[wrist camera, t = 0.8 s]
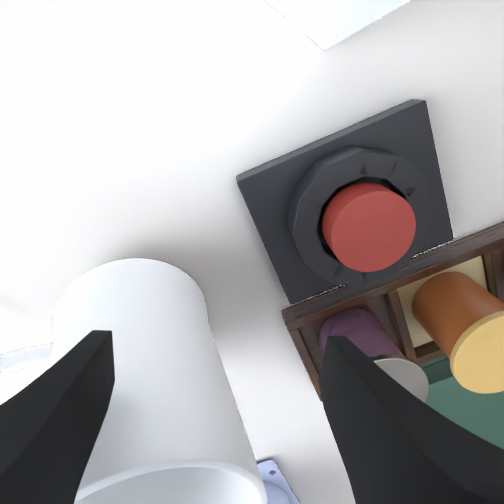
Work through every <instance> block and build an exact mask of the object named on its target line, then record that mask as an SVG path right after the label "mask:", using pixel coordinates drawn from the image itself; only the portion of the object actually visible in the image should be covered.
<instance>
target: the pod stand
mask: <svg viewBox="0 0 504 504" xmlns="http://www.w3.org/2000/svg"><path fill="white" fill-rule="evenodd" d="M445 272H460V273H463V274H465V275H467V276H469V277H470V278H471V279H473V280H474V281H475V282H477V283H478V284H479V285H481V286H482V287H483V288H485V289H486V290H487V291H488V292H490V293H491V294H492V295H494V296H495V297H496V298H498V299H499V300H500V301H502V302H503V303H504V222H503V223H501V224H498V225H496V226H493V227H491V228H488V229H486V230H483V231H481V232H478V233H476V234H473V235H471V236H468V237H466V238H463V239H461V240H458V241H456V242H453V243H451V244H448V245H446V246H443V247H441V248H438V249H436V250H433V251H431V252H428V253H426V254H423V255H421V256H418V257H416V258H413V259H411V260H409V261H408V262H407V263H406V264H405V265H404V266H403V267H402V268H401V269H400V270H399V272H397V273H396V274H393V275H391V276H388V277H386V278H383V279H381V280H378V281H376V282H373V283H371V284H368V285H366V286H356V285H346V286H343V287H341V288H338V289H336V290H333V291H331V292H328V293H326V294H323V295H321V296H318V297H316V298H313V299H311V300H308V301H306V302H303V303H301V304H298V305H296V306H293V307H291V308H288V309H286V310H283V311H282V314H283V318H284V321H285V325H286V327H287V329H288V331H289V333H290V335H291V338H292V340H293V342H294V344H295V346H296V349H297V351H298V353H299V355H300V357H301V359H302V362H303V364H304V366H305V368H306V370H307V372H308V375H309V377H310V379H311V381H312V383H313V386H314V388H315V390H316V392H317V394H318V396H319V399H320V401H322V397H321V392H320V388H319V383H318V381H319V376H320V371H321V366H322V361H323V354H322V351H321V349H320V346H319V333H320V330H321V328H322V326H323V324H324V323H325V322H326V321H327V320H328V319H329V318H330V317H331V316H332V315H334V314H336V313H337V312H340V311H342V310H345V309H351V308H359V309H364V310H367V311H369V312H371V313H373V314H374V315H375V316H376V317H377V318H378V320H379V321H380V322H381V324H382V325H383V327H384V328H385V330H386V331H387V333H388V334H389V335H390V337H391V338H392V340H393V341H394V343H395V344H396V346H397V347H398V348H399V350H400V351H401V353H402V354H403V356H405V357H408V358H410V359H412V360H414V361H415V362H416V363H418V365H420V364H422V363H425V362H428V361H430V360H433V359H436V358H438V357H441V356H444V355H445V354H444V352H443V351H442V350H441V349H440V348H439V346H438V345H437V344H436V343H435V342H434V341H433V339H432V338H431V337H430V336H429V335H428V334H427V332H426V331H425V330H424V329H423V328H422V326H421V325H420V324H419V323H418V322H417V321H416V319H415V317H414V315H413V311H412V303H413V299H414V297H415V294H416V293H417V291H418V290H419V288H420V287H421V286H422V285H423V284H424V283H425V282H426V281H428V280H429V279H430V278H432V277H434V276H436V275H438V274H441V273H445Z"/></svg>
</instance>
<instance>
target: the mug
mask: <svg viewBox="0 0 504 504" xmlns="http://www.w3.org/2000/svg"><path fill="white" fill-rule="evenodd" d="M52 329H53V337H54V340H53V343H50V344H47V345H41V346H35V347H29V348H24V349H19V350H15V351H11V352H8V353H5V354H2V355H0V375H1V374H4V373H7V372H10V371H14V370H18V369H24V368H46V369H49V368H50V367H51V366H53V365H54V364H55V363H56V362H57V361H58V360H60V359H61V358H62V357H63V356H64V355H65V354H66V353H67V352H69V351H70V350H71V349H72V348H73V347H74V346H75V345H76V344H77V343H78V342H80V341H81V340H82V339H83V338H84V337H85V336H86V335H87V334H88V333H90V332H91V331H92V330H112V338H113V354H114V369H115V383H114V387H113V391H112V396H111V400H110V403H109V407H108V411H107V413H106V416H105V419H104V421H103V424H102V427H101V429H100V432H99V435H98V437H97V440H96V442H95V445H94V448H93V450H92V453H91V455H90V458H89V461H88V463H87V466H86V468H85V471H84V474H83V476H82V479H81V482H80V485H79V488H78V491H77V494H76V498H75V501H74V504H267V494H266V490H265V486H264V483H263V480H262V477H261V474H260V471H259V468H258V466H257V463H256V460H255V457H254V454H253V451H252V448H251V445H250V442H249V439H248V436H247V433H246V431H245V428H244V425H243V422H242V419H241V416H240V413H239V410H238V407H237V404H236V401H235V399H234V396H233V393H232V390H231V387H230V384H229V381H228V378H227V375H226V372H225V369H224V366H223V364H222V361H221V358H220V355H219V352H218V349H217V346H216V343H215V340H214V337H213V334H212V331H211V328H210V325H209V322H208V319H207V305H206V301H205V298H204V295H203V293H202V291H201V289H200V288H199V286H198V285H197V284H196V282H195V281H194V280H193V279H192V278H191V277H190V276H189V275H187V274H186V273H185V272H183V271H182V270H180V269H179V268H177V267H175V266H173V265H170V264H168V263H165V262H162V261H158V260H153V259H144V258H130V259H121V260H116V261H112V262H108V263H105V264H102V265H100V266H97V267H95V268H93V269H91V270H89V271H88V272H86V273H84V274H83V275H81V276H80V277H79V278H77V279H76V280H75V281H74V282H73V283H72V284H71V285H70V286H69V287H68V288H67V289H66V290H65V292H64V293H63V294H62V296H61V298H60V299H59V301H58V303H57V306H56V308H55V311H54V315H53V323H52Z"/></svg>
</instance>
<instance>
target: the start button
mask: <svg viewBox="0 0 504 504" xmlns="http://www.w3.org/2000/svg"><path fill="white" fill-rule="evenodd" d="M322 231H323V235H324V238H325V240H326V242H327V244H328V245H329V247H330V248H331V250H332V251H333V253H334V254H335V255H336V257H337V258H338V259H339V261H340V262H341V263H343V264H344V265H345V266H347V267H348V268H350V269H353V270H356V271H361V272H373V271H378V270H382V269H384V268H387V267H389V266H391V265H392V264H394V263H395V262H397V261H398V260H399V259H400V258H401V257H402V256H403V255H404V254H405V253H406V252H407V250H408V249H409V247H410V245H411V243H412V241H413V239H414V235H415V231H416V220H415V215H414V212H413V210H412V208H411V206H410V205H409V203H408V202H407V201H406V200H405V199H404V198H402V197H401V196H399V195H398V194H396V193H394V192H393V191H391V190H389V189H388V188H386V187H384V186H382V185H380V184H377V183H372V182H361V183H356V184H353V185H350V186H348V187H346V188H344V189H343V190H341V191H340V192H339V193H337V194H336V195H335V196H334V197H333V198H332V200H331V201H330V202H329V204H328V206H327V207H326V210H325V212H324V215H323V220H322Z"/></svg>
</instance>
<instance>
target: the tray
mask: <svg viewBox="0 0 504 504" xmlns="http://www.w3.org/2000/svg"><path fill="white" fill-rule="evenodd" d="M419 366H420V367H421V368H422V369H423V371H424V372H425V374H426V376H427V378H428V383H429V391H428V395H427V398H426V400H425V404H427V405H428V406H430V407H431V408H433V409H434V410H436V411H437V412H439V413H440V414H442V415H443V416H445V417H446V418H448V419H450V420H451V421H453V422H454V423H456V424H458V425H460V426H461V427H463V428H465V429H466V430H468V431H470V432H471V433H473V434H475V435H477V436H479V437H481V438H482V439H484V440H486V441H488V442H490V443H492V444H494V445H496V446H498V447H500V448H502V449H504V391H501V392H497V393H485V394H484V393H476V392H473V391H470V390H468V389H466V388H464V387H463V386H462V385H461V384H460V383H459V382H458V381H457V380H456V378H455V377H454V376H453V374H452V371H451V368H450V359H449V358H448V357H447V356H446V355H444V356H441V357H438V358H436V359H433V360H430V361H428V362H425V363H422V364H420V365H419Z"/></svg>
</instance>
